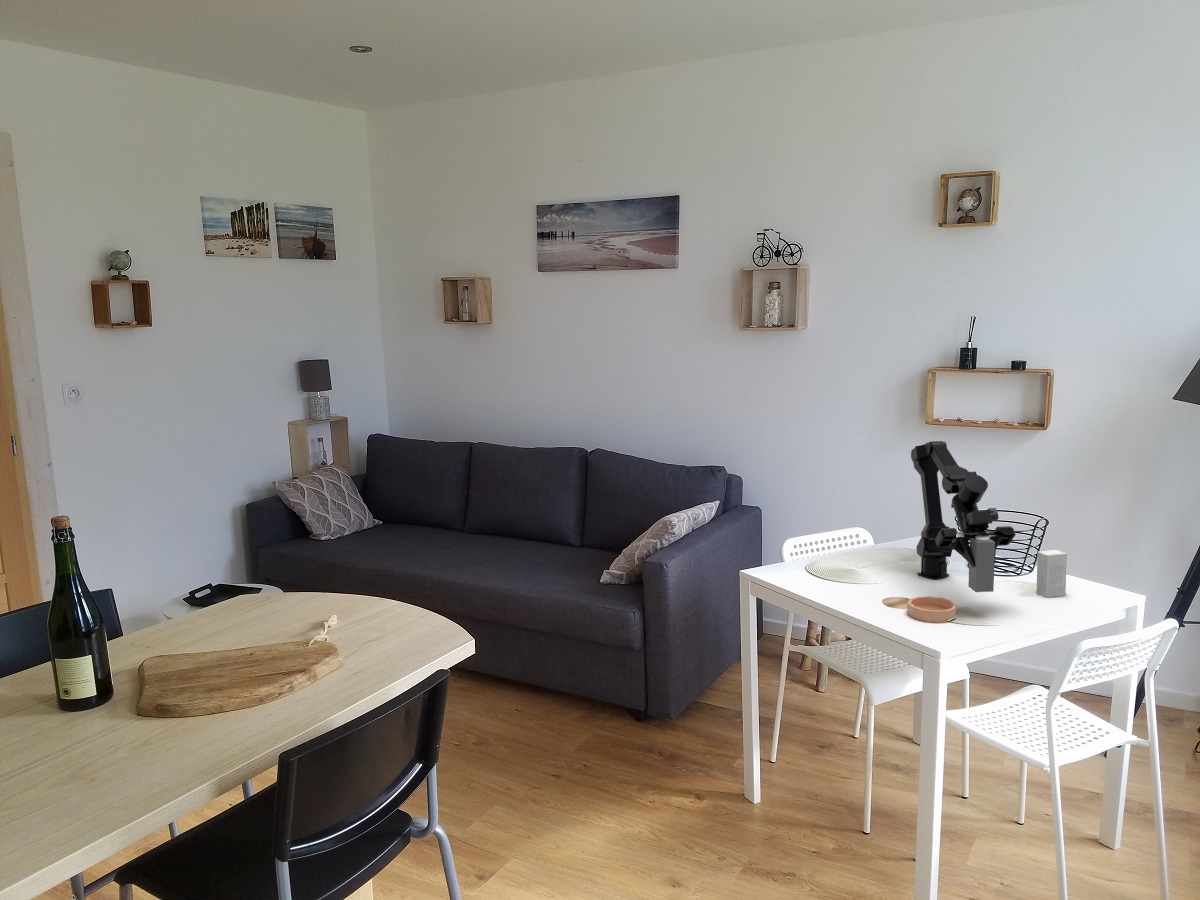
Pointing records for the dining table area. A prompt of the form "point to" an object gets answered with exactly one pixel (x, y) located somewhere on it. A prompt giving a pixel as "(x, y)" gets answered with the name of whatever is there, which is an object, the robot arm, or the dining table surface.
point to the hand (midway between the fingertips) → (983, 565)
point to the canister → (982, 564)
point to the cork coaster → (896, 602)
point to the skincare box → (1051, 573)
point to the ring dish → (931, 609)
